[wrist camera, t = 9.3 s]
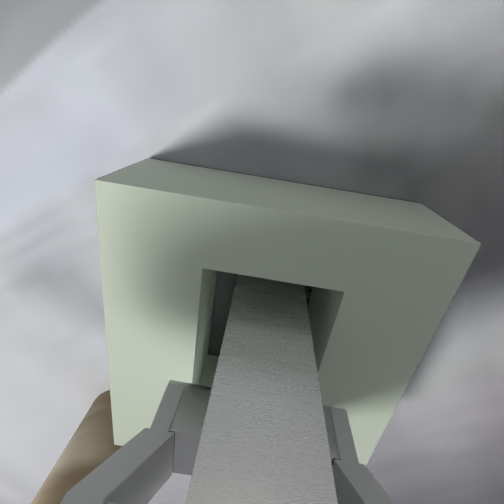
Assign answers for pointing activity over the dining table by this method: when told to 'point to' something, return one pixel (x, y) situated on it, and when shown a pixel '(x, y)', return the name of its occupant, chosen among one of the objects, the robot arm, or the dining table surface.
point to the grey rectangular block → (265, 406)
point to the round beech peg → (81, 452)
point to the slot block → (274, 268)
